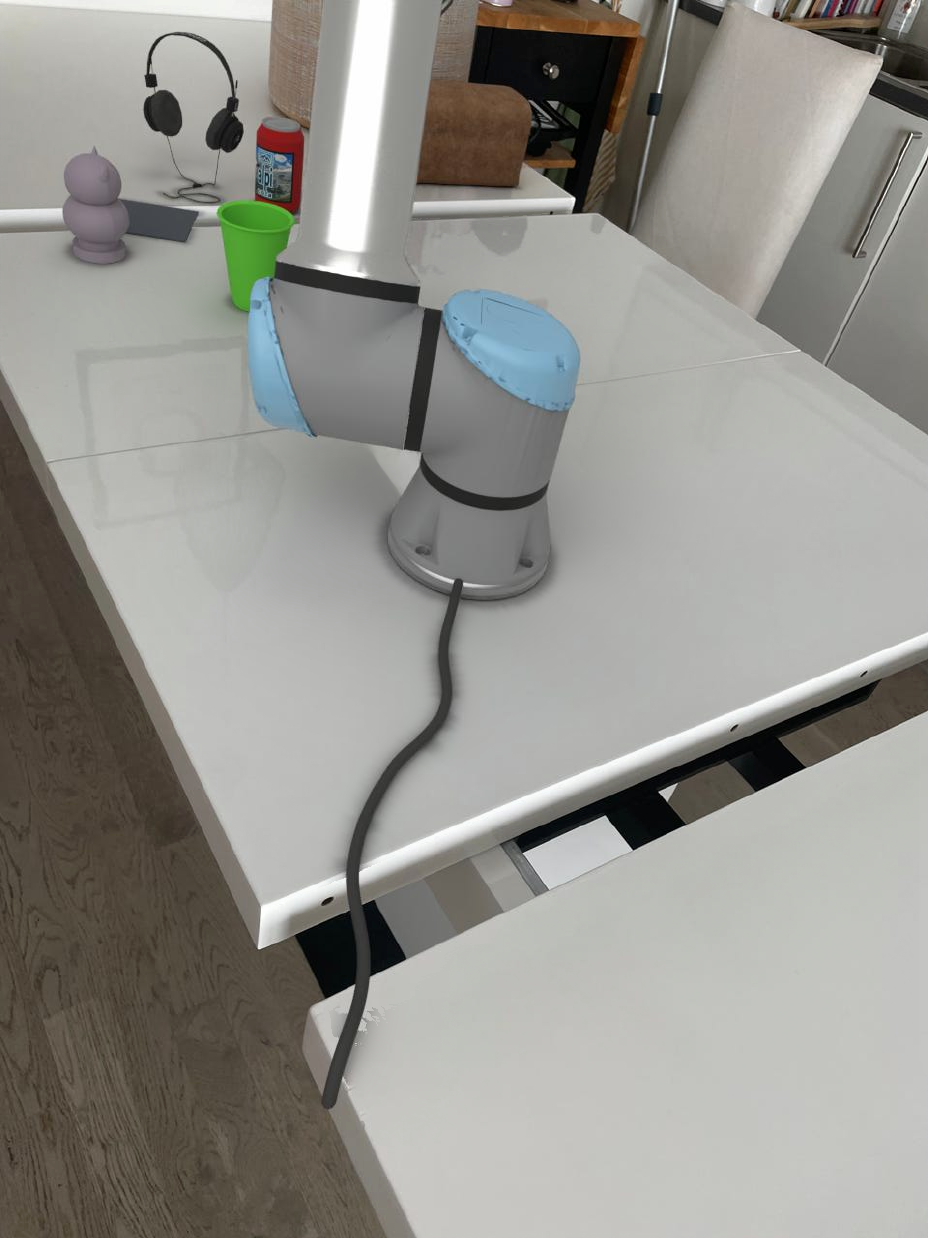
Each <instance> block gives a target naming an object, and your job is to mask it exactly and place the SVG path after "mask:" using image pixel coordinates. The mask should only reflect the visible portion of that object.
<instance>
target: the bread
mask: <svg viewBox="0 0 928 1238" xmlns="http://www.w3.org/2000/svg"><path fill="white" fill-rule="evenodd" d="M532 117H533V111H532V108H531V104H530V102H529V101H528V100H527V98H526V97H524V96H523V95H522V94H521V93H519V92H518V91H517V90H516V89H514V88H513V87H512V86H508V85H507V86H506V85H500V84H499V85H498V84H490V83H489V84H488V83H487V84H486V83H475V82H468V83H467V82H458V81H446V80H432V79H431V85H430V92H429V99H428V106H427V113H426V120H425V127H424V134H423V141H422V148H421V155H420V162H419V169H418V176H417V183H416V184H419V183H420V184H441V185H466V186H467V185H468V186H489V187H490V186H492V187H518V186H519V185H520V177H521V172H522V167H523V165H524V159H525V156H526V155H525V154H526V150H527V146H528V142H529V136H530V134H531V133H530V132H531V128H532V122H533V121H532V120H533V118H532Z"/></svg>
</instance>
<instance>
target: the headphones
mask: <svg viewBox="0 0 928 1238" xmlns="http://www.w3.org/2000/svg"><path fill="white" fill-rule="evenodd" d="M170 36H177V37H178V36H179V37H185V38H188V39H190V40H194V41H196V42H198V43H200V44H201V45H203V46H205V47H206V48H207V49H209V50H210V51H211V52H212V53H214V54H215V56H216V57H217V58H218V60H219V62H221V64H222V66H223V67H224V70H225V71H226V74H227V78H228V81H229V84H230V90H231V96H228V97H227V99H226V106H225V107H223V108H221V109H220V110H218V112H217V113H215V115H214V116H213V117H212V119H211V121H210V123H209V125H208V127H207V129H206V132H205V138H204V139H205V140H204V141H205V144H206V146H207V148H208V149H210V150H212V151H218V155H217V161H219V160H220V153H221V150H222V152H225V153H226V154H229V153H232V152H233V151H235V150H236V149H237V148H238V146H239V145H240V143H241V142H242V139H243V136H244V131H245V130H244V124H243V123H242V121H240V120H239V118H238V117H237V116H236V114H235V113H236V112H238V110H239V104H240V103H239V102H240V99H239V98H237V89H238V83H239V82H238V81H239V80H237V79H236V80H235V83H234V77H233V73H232V71H231V68H230V65H229V63H228V61H227V59H226V57H225V56H224V54H223V52H221V50H220V49H219V48H218V47H217V46H216V45H215V44H213V43H212V42H211V41H209V40H208V39H207V38H205V37H203V36H201V35H198V34H195V33H192V32H187V31H174V32H169V33H165V34H163V35H160V36H159V37H157V38H156V39H155V40H154V41H153V43H152V44H151V47H150V48H149V50H148V54H147V60H146V74H144V82H145V87H146V88H149V89H152V88H153V91H154V92H153V94H152V95H151V94H150V95H149V96H147V97H146V98H145V100H144V102H143V108H142V110H143V117H144V119H145V122H146V124H147V125H148V127H149V128H150V129H151V131H154V132H155V133H156V132H159V133H161V134H162V135H164V136H165V137H166V138H167V142H168V145H169V149H170V152H171V156H172V161H173V163H174V166H175V167H176V170H177V171H178V173H179V175H180V176H181V177H182V178H184V179H186V180H188V181H190V182H192V183H193V184H192V186H191V187H183V188H180V189H178V191H177V194H178V196H172V195H168V194H166V193H165V192H163V195H164V196H167V197H169V198H172V199H178V198H180V197H181V198H184V199H188V200H191V201H194V202H196V203H203V204H214V203H219V202H221V198H219V197H218V196H214V195H211V194H207V193H201V192H199V193H197V192H196V193H194V195H202V196H209V197H211V198H216V199H217V201H199V200H196V199H193V198H188V197H187V196H189V195H190V196H191V195H192V193H180V191H182V190H188V189H196V188H202V187H203V186H205V185H212V186H215V185H216V180H217V175H218V169H219V168H218V167H219V162H217V164H216V170H215V176H214V183H212V182H208V183H199V182H196V181H194V180H193V179H189V178H188V177H185V176H184V175H183V174H182V172H181V171H180V170H179V167H178V166H177V164H176V160H175V159H174V155H173V151H172V146H171V142H170V139H169V137H176V136H178V134H179V133H180V131H181V129H182V127H183V113H182V109H181V106H180V103H179V100H178V99H177V98H176V96H175V95H174V94H173V92H171V91H169V90H168V89H158V90H157V91H156V87H157V88H158V79H157V74H156V73H154V69H153V60H152V59H153V58H152V57H153V54H154V51H155V50H156V48H157V47H158V44H160V42H161V41H163V40H164V39H165V38H166V37H170ZM150 71H151V73H150Z"/></svg>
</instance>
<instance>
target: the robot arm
mask: <svg viewBox="0 0 928 1238" xmlns="http://www.w3.org/2000/svg"><path fill="white" fill-rule="evenodd" d="M452 3H453V0H324V2H323V12H322V21H321V30H320V39H319V48H318V58H317V67H316V76H315V85H314V94H313V104H312V113H311V122H310V129H309V132H308V140H307V141H308V142H307V151H306V158H305V159H306V160H305V169H304V178H303V185H302V187H303V188H302V195H301V204H300V215H299V224H298V234H297V237H296V238H295V239H294V241H293V242H292V243H291V244H290V245H287V248H286V249H285V250H283V251H282V252H281V253H280V254H278V255H277V256H276V264H275V273H274V279H273V278H272V277H265V278H263V279H259V280H257V281H256V282H255V284H254V286H253V288H252V292H251V297H250V312H248V317H247V360H248V373H249V374H248V375H249V382H250V388H251V393H252V397H253V398H252V399H253V402H254V406H255V408H256V410H257V412H258V414H259V415H260V417H261V418H262V419H263V420H264V421H265V422H266V423H267V424H269V425H270V426H273V427H276V428H278V429H279V428H280V429H283V430H288V431H293V432H298V433H302V434H306V435H307V436H309V437H310V438H317V437H318V436H319V437H326V438H330V439H331V438H332V439H337V440H343V441H349V442H355V443H361V444H366V445H367V444H368V445H372V446H378V447H386V448H391V449H396V450H402V451H403V450H404V451H410V452H416V453H421V454H420V460H419V465H418V467H417V469H416V470H415V472H414V474H413V476H412V477H411V479H410V480H409V483H408V484H407V485H406V488H405V489H404V491H403V492H402V494H401V497H400V498H399V499H398V501H397V503H396V505H395V506H394V508H393V510H392V512H391V515H390V518H389V524H388V525H389V526H388V532H387V544H388V548H389V551H390V553H391V555H392V557H393V559H394V561H395V562H396V563H397V564H398V565H399V567H400V568H401V569H402V570H403V571H404V572H405V573H406V574H408V575H409V576H410V577H412V578H413V579H414V580H416V581H417V582H418V583H420V584H422V585H424V586H426V587H428V588H429V589H432V590H435V591H436V592H439V593H440V592H441V593H443V594H445V595H449V600H448V604H447V606H446V607H447V608H446V612H445V615H444V618H443V622H442V626H441V629H440V634H439V639H438V646H437V647H438V649H437V658H438V659H437V660H438V667H439V674H440V675H439V676H440V682H441V683H440V684H441V697H440V702H439V705H438V708H437V710H436V712H435V715H434V716H433V718H432V720H431V721H430V722H429V724H428V725H427V726H426V727H425V728H424V729H423V730H422V731H421V732H420V733H419V734H418V735H417V736H415V738H414V739H412V741H410V742H409V743H408V744H406V745H405V746H404V748H402V750H400V752H398V753H397V755H395V757H393V759H392V760H391V761H390V763H389V764H388V765H387V766H386V768H385V769H384V771H383V772H382V773H381V775H380V777H379V779H378V781H377V782H376V784H375V785H374V787H373V789H372V791H371V792H370V794H369V795H368V798H367V799H366V801H365V804H363V807H362V810H361V812H360V814H359V817H358V819H357V821H356V824H355V827H354V830H353V832H352V833H353V834H352V837H351V840H350V845H349V850H348V855H347V860H346V869H345V870H346V871H345V886H346V894H347V895H346V896H347V897H346V898H347V903H348V908H349V914H350V919H351V924H352V929H353V934H354V941H355V947H356V973H355V984H354V989H353V993H352V998H351V1002H350V1005H349V1009H348V1012H347V1016H346V1018H345V1021H344V1024H343V1026H342V1029H341V1033H340V1035H339V1038H338V1040H337V1043H336V1046H335V1050H334V1053H333V1055H332V1057H331V1058H332V1059H331V1062H330V1064H329V1069H328V1072H327V1075H326V1079H325V1083H324V1087H323V1091H322V1095H321V1105H322V1107H323V1109H325V1110H328V1111H329V1110H331V1109H333V1108H334V1107H335V1106H336V1104H337V1102H338V1097H339V1093H340V1089H341V1085H342V1081H343V1077H344V1074H345V1071H346V1070H345V1069H346V1067H347V1063H348V1061H349V1057H350V1055H351V1051H352V1048H353V1046H354V1042H355V1039H356V1036H357V1034H358V1031H359V1028H360V1026H361V1025H360V1024H361V1022H362V1019H363V1016H364V1012H365V1008H366V1004H367V999H368V995H369V990H370V982H371V968H372V960H371V945H370V937H369V932H368V931H369V930H368V926H367V921H366V917H365V911H364V908H363V907H364V906H363V902H362V897H361V890H360V889H361V888H360V868H361V859H362V853H363V848H364V844H365V840H366V836H367V832H368V829H369V827H370V823H371V821H372V819H373V816H374V814H375V812H376V810H377V808H378V806H379V804H380V802H381V801H382V798H383V796H384V795H385V793H386V791H387V789H388V788H389V786H390V784H391V783H392V781H393V779H394V778H395V776H396V775H397V773H398V772H399V771H400V769H402V767H403V766H404V765H405V763H407V762H408V760H409V759H410V758H412V757H413V756H414V755H415V754H416V753H417V752H418V751H419V750H420V749H422V747H424V746H425V745H426V744H427V743H428V742H429V741H430V740H431V739H433V737H434V736H435V735H436V733H438V731H439V730H440V728H441V727H442V725H443V724H444V723H445V721H446V719H447V717H448V714H449V712H450V709H451V705H452V700H453V682H452V681H453V680H452V674H451V669H450V668H451V667H450V661H449V648H450V647H449V646H450V639H451V634H452V630H453V627H454V622H455V620H456V616H457V611H458V609H459V608H458V607H459V604H460V599H468V600H476V601H477V600H479V601H484V600H485V601H490V600H500V599H501V600H502V599H507V598H511V597H514V596H517V595H520V594H522V593H525V592H526V591H528V590H530V589H531V588H533V587H535V585H536V584H538V583H539V581H540V580H542V579H543V576H544V574H545V572H546V570H547V567H548V563H549V559H550V556H551V552H552V538H551V528H550V518H549V508H548V497H547V496H548V495H547V493H548V489H549V485H550V481H551V478H552V475H553V470H554V468H555V463H556V460H557V457H558V453H559V449H560V445H561V441H562V438H563V435H564V431H565V427H566V424H567V420H568V416H569V413H570V409H571V408H572V407H573V405H574V403H575V401H576V387H577V383H578V379H579V372H580V367H581V352H580V348H579V344H578V343H577V340H576V338H575V337H574V335H573V334H572V332H571V331H570V330H569V329H568V328H567V326H566V325H565V324H563V323H562V322H561V321H560V320H558V319H557V318H556V317H554V316H553V315H552V314H551V313H549V312H548V311H547V310H545V309H543V308H542V307H539V306H538V305H536V304H535V303H534V304H533V303H532V302H529V301H528V300H525V299H523V298H520V297H517V296H514V295H511V294H508V293H504V292H501V291H496V290H491V289H481V288H479V289H476V290H474V291H473V290H470V289H464V290H461V291H458V292H456V293H454V294H452V295H451V296H450V297H449V298H448V300H447V302H446V303H445V304H444V306H443V308H442V309H436V308H430V307H424V306H420V304H419V301H420V295H421V294H420V293H421V286H422V281H421V279H420V278H419V277H418V275H417V274H416V272H415V271H414V269H413V267H412V266H411V264H410V263H409V260H408V258H407V257H408V256H407V251H408V246H409V245H408V244H409V238H410V232H411V224H412V217H413V209H414V203H415V195H416V188H417V184H418V183H417V176H418V169H419V162H420V155H421V148H422V141H423V134H424V127H425V120H426V113H427V106H428V99H429V92H430V85H431V78H432V71H433V64H434V57H435V50H436V43H437V36H438V29H439V22H440V17H441V15H442V14H443V13H444V12H445V11H446V10H447V9H448V8H449V7H450V6H451V5H452Z"/></svg>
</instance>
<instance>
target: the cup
mask: <svg viewBox="0 0 928 1238" xmlns="http://www.w3.org/2000/svg"><path fill="white" fill-rule="evenodd" d="M216 216H217V218H218V219H219V222H220V227H221V235H222V241H223V248H224V256H225V261H226V262H225V263H226V269H227V276H228V282H229V288H230V294H231V295H230V296H231V300H232V302H233V304H234V306H235V307H236V308H238V309H239V310H241V311H245V312H248V313H250V297H251V292H252V288H253V286H254V284H255V282H256V281H257V280H259V279H263V278H265V277H272V278H273V279H274V273H275V264H276V256H277V255H278V254H280V253H281V252H282V251H283V250H285V249H286V248H287V247H288V245H289V244H288V243H289V239H290V235H291V229H292V228H293V227H294V226H295V224H296V219H295V218H294V216H293V214H292V213H290V212H288V211H287V210H285V209H283V208H281V207H278V206H276V205H272V204H269V203H264V202H259V201H255V200H233V201H228V202H225V203H223V204H221V205H220V206H219V207H218V208H217V210H216Z"/></svg>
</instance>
